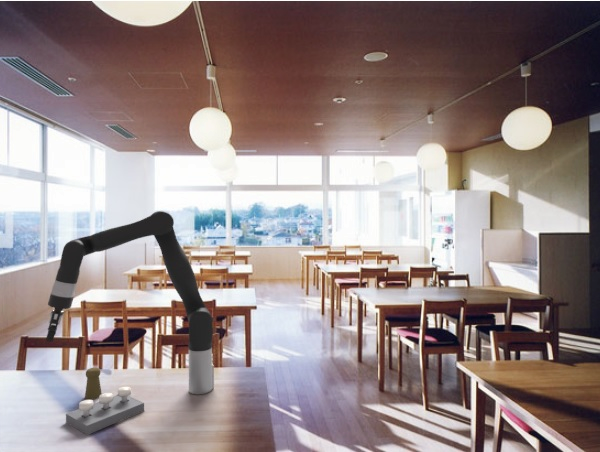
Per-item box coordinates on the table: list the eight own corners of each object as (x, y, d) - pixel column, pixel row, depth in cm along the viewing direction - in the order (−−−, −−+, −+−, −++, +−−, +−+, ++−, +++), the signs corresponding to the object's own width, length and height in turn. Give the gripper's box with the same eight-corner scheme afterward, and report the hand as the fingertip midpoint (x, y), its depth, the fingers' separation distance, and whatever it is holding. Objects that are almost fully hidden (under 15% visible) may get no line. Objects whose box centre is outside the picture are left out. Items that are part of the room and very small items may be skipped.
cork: (95, 400, 165) (94, 371, 165) (81, 398, 166) (80, 370, 166) (105, 393, 171) (104, 366, 171) (91, 392, 172) (91, 365, 172)
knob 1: (89, 412, 149) (89, 398, 149) (96, 416, 147) (95, 401, 147) (76, 417, 146) (76, 403, 146) (83, 421, 143) (83, 406, 143)
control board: (122, 400, 165) (122, 393, 165) (144, 410, 156) (144, 402, 156) (66, 422, 148) (65, 413, 148) (86, 434, 139) (86, 425, 139)
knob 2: (126, 398, 161) (126, 385, 161) (133, 401, 158) (133, 388, 158) (115, 402, 157) (115, 389, 157) (122, 405, 155) (122, 392, 154)
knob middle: (108, 405, 155) (108, 391, 155) (115, 408, 152) (115, 394, 152) (96, 409, 151) (96, 396, 151) (103, 413, 149) (103, 399, 149)
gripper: (72, 299, 151) (60, 345, 150) (75, 292, 164) (63, 334, 163) (48, 295, 148) (35, 342, 147) (53, 288, 161) (41, 331, 160)
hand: (50, 337), depth 155 cm, fingers open, 8 cm apart
